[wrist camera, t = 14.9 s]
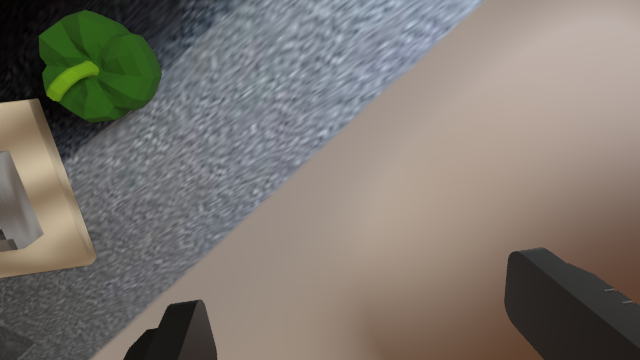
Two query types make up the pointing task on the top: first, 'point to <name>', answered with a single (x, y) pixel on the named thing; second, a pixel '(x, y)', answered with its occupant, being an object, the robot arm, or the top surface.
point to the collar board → (36, 198)
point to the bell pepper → (97, 67)
